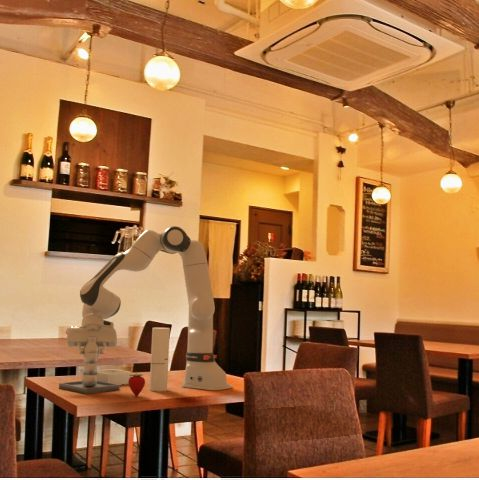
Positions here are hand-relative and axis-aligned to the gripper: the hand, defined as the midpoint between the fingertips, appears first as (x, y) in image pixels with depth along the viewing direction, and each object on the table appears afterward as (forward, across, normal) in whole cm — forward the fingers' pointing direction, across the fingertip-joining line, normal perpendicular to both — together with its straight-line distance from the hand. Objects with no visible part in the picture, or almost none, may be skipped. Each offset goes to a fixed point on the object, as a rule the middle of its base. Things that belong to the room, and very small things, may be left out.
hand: (91, 353), depth 224 cm
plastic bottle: (+9, 0, +10) cm, 14 cm away
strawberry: (+23, +17, -3) cm, 29 cm away
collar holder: (-1, +9, +21) cm, 23 cm away
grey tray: (+10, 0, +10) cm, 14 cm away
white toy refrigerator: (+13, +27, +8) cm, 31 cm away
